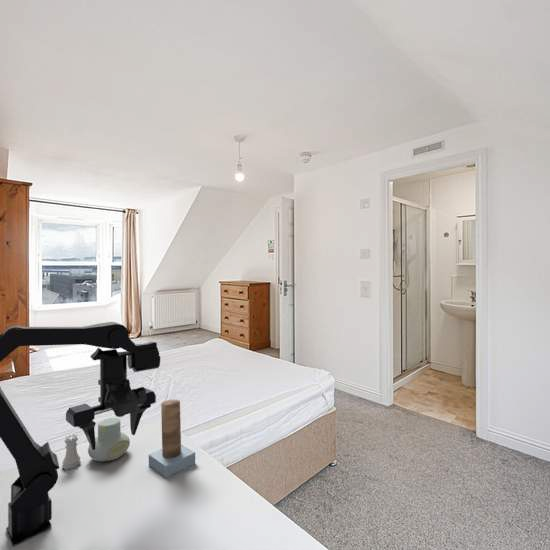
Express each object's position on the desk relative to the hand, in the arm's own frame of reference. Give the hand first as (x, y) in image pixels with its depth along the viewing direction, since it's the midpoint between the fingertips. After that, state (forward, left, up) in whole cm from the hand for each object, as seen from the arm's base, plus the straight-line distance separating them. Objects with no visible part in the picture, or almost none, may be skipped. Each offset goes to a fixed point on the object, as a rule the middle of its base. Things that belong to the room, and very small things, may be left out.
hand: (114, 441), depth 79 cm
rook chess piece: (-2, +23, -13) cm, 27 cm away
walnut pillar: (+16, +2, -10) cm, 19 cm away
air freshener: (+7, +20, -13) cm, 25 cm away
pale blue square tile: (+16, +2, -13) cm, 21 cm away
